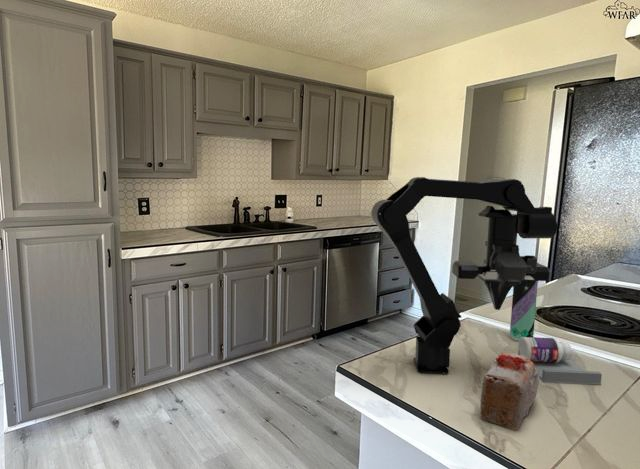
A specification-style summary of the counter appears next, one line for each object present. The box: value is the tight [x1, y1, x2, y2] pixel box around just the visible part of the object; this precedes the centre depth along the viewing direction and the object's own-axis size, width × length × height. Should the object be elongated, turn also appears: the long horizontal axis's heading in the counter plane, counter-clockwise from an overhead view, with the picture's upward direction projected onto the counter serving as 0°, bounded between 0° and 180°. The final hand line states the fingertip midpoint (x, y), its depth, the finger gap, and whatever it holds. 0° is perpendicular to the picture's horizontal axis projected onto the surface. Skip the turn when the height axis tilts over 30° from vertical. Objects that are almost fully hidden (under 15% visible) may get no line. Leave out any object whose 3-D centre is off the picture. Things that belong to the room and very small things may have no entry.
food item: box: [480, 351, 540, 431], centre depth 71 cm, size 14×8×10 cm, turn 144°
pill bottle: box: [517, 336, 573, 363], centre depth 90 cm, size 5×5×10 cm
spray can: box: [509, 275, 539, 343], centre depth 103 cm, size 6×6×20 cm
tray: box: [517, 349, 603, 386], centre depth 87 cm, size 11×13×2 cm
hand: (496, 309), depth 87 cm, fingers closed
